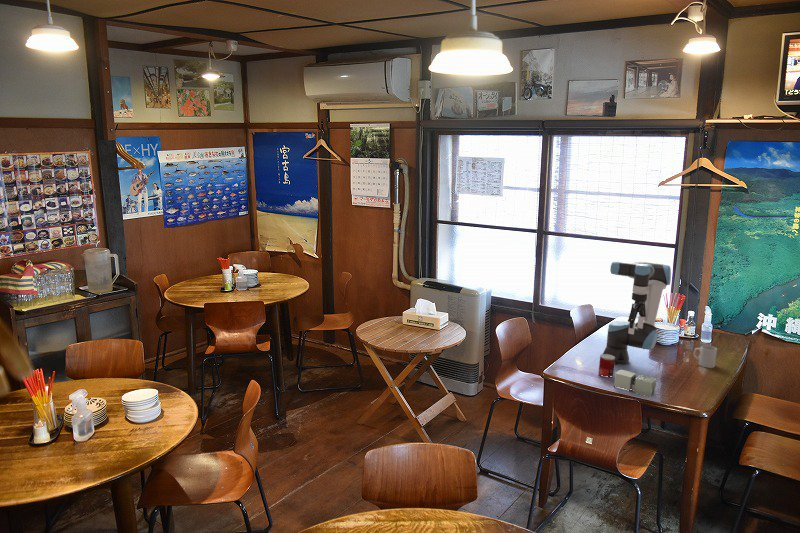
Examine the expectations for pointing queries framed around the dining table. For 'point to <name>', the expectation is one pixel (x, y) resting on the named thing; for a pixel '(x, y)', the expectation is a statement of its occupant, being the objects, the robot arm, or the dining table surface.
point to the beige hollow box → (624, 379)
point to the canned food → (606, 365)
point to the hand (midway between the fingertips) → (635, 330)
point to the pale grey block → (644, 385)
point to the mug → (706, 356)
